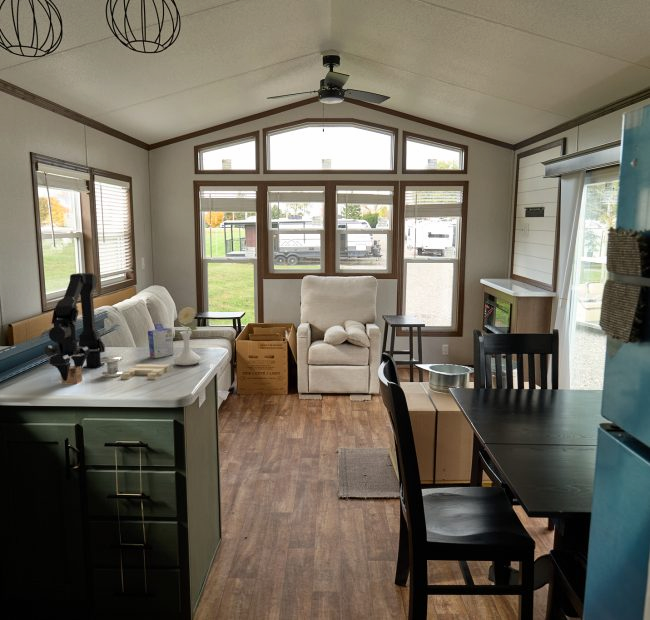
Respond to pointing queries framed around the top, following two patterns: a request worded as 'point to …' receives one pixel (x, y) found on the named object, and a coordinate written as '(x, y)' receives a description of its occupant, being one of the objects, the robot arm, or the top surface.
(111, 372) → the bobbin
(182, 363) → the flower in vase
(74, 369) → the wooden block
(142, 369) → the notched board
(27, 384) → the top surface
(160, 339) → the ink cartridge box
